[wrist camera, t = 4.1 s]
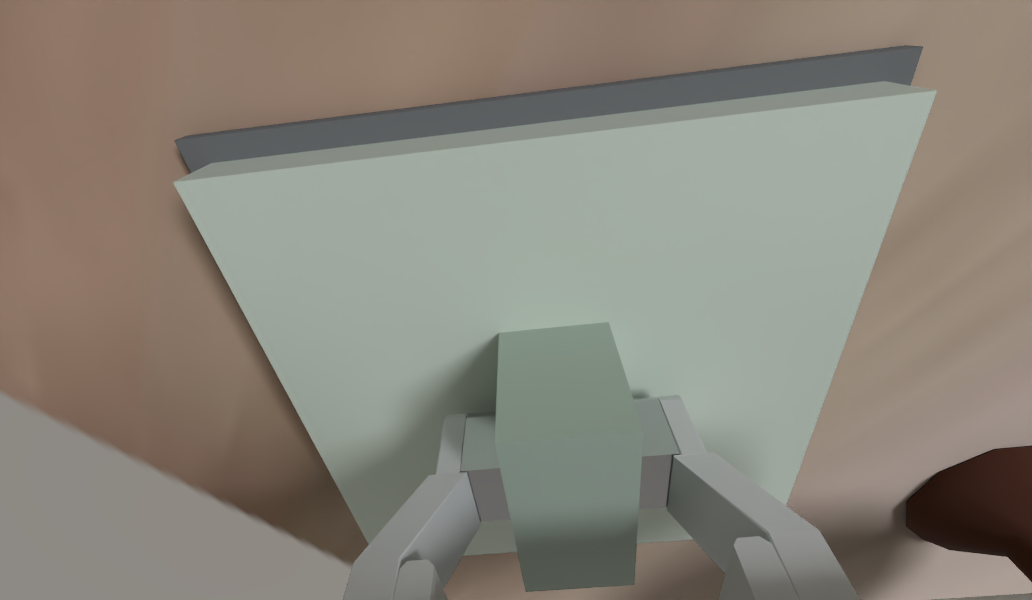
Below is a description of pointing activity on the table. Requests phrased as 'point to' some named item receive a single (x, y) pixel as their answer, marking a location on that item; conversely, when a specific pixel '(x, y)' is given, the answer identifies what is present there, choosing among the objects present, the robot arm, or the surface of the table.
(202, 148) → the mat
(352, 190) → the lid
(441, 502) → the robot arm
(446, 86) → the table surface
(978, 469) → the ice cream bowl
